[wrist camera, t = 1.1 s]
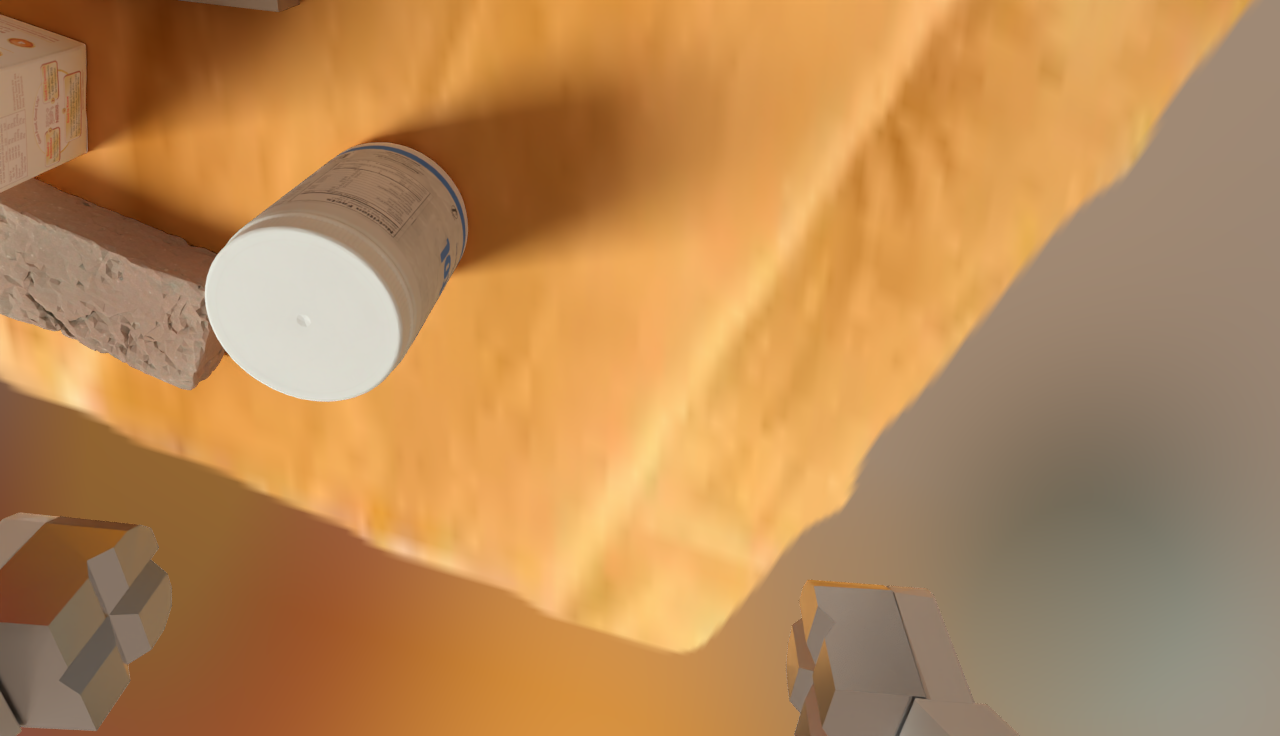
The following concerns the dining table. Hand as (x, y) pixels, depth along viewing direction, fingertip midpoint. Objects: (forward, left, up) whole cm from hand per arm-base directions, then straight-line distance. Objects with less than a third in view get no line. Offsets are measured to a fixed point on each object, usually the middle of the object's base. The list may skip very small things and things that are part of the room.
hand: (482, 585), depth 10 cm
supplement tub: (+11, -13, -40) cm, 44 cm away
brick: (+17, -32, -40) cm, 54 cm away
